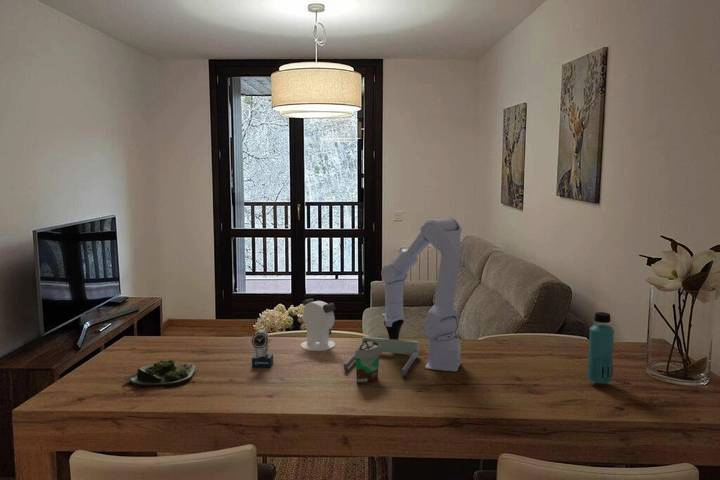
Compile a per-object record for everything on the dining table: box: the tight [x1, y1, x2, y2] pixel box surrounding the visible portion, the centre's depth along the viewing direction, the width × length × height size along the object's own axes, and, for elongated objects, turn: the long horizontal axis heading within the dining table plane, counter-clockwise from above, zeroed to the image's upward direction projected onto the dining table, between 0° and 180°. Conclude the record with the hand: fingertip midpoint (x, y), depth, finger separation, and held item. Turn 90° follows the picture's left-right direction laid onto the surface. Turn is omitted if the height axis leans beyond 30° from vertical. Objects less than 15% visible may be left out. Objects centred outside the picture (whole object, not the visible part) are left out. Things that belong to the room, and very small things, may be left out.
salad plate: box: [124, 358, 196, 388], centre depth 172 cm, size 19×18×5 cm
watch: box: [251, 329, 274, 369], centre depth 179 cm, size 6×8×11 cm
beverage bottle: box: [586, 311, 615, 384], centre depth 163 cm, size 6×7×20 cm
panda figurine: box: [300, 298, 336, 352], centre depth 198 cm, size 12×11×15 cm
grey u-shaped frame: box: [343, 336, 420, 378], centre depth 180 cm, size 18×19×5 cm
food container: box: [355, 338, 383, 385], centre depth 168 cm, size 12×6×10 cm, turn 168°
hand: (393, 342), depth 194 cm, fingers closed
